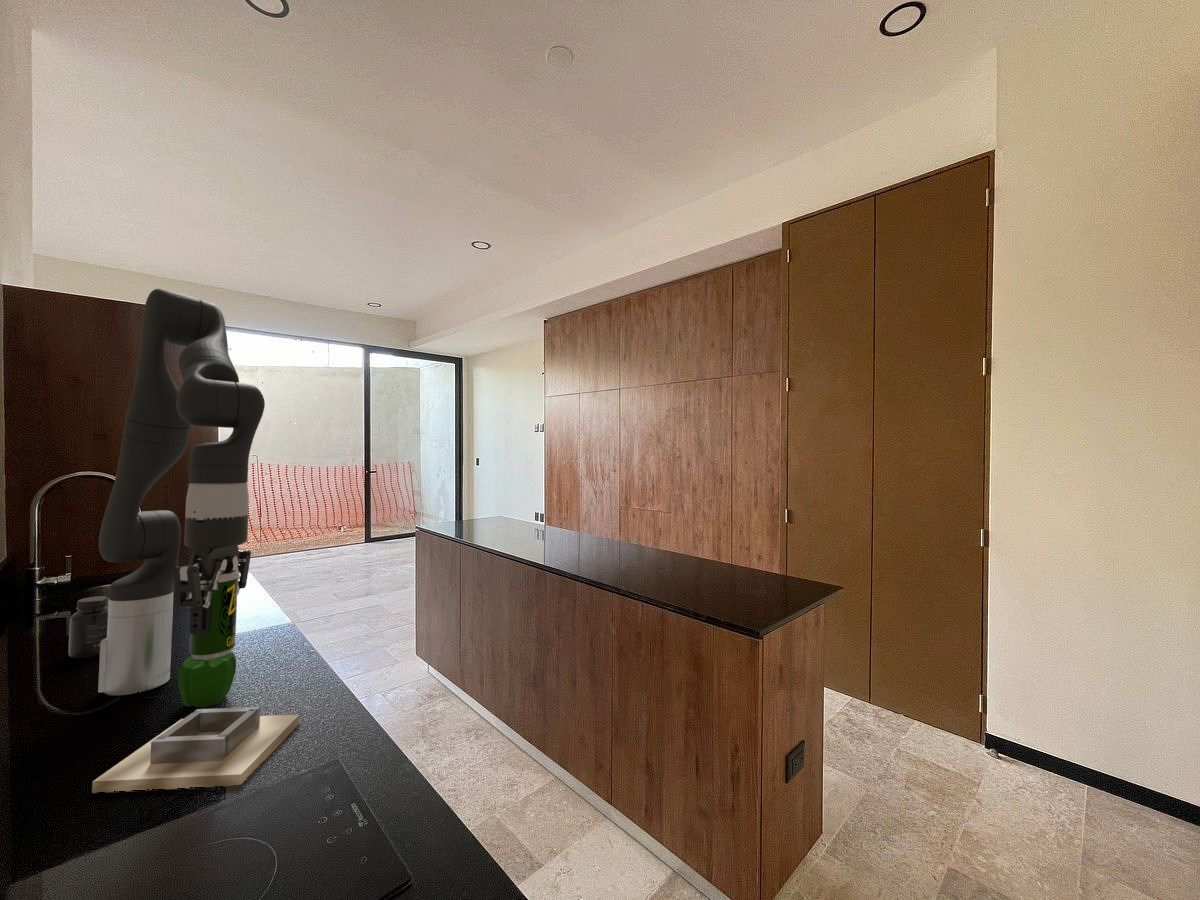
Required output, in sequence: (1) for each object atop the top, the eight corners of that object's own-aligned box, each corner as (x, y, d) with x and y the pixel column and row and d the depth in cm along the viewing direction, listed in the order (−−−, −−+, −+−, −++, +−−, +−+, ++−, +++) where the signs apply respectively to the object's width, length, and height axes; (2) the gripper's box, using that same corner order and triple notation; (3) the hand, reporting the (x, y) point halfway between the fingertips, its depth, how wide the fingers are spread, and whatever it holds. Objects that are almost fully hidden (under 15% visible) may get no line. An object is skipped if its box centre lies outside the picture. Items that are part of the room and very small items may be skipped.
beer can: (186, 663, 70) (190, 578, 71) (191, 651, 75) (195, 570, 75) (233, 655, 73) (237, 574, 74) (236, 644, 78) (239, 567, 78)
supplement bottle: (61, 655, 109) (64, 600, 109) (102, 645, 115) (104, 593, 115) (78, 661, 106) (80, 604, 107) (118, 650, 113) (121, 596, 113)
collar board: (92, 793, 65) (93, 757, 65) (181, 728, 81) (182, 699, 81) (240, 785, 67) (241, 751, 67) (299, 723, 83) (300, 696, 83)
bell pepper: (185, 696, 91) (188, 641, 92) (239, 688, 95) (241, 635, 95) (167, 717, 84) (169, 657, 84) (226, 709, 87) (228, 651, 87)
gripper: (221, 508, 81) (217, 613, 81) (153, 518, 67) (147, 645, 67) (270, 509, 82) (266, 612, 82) (213, 518, 68) (208, 644, 67)
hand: (213, 626), depth 74 cm, fingers closed on beer can, 5 cm apart
